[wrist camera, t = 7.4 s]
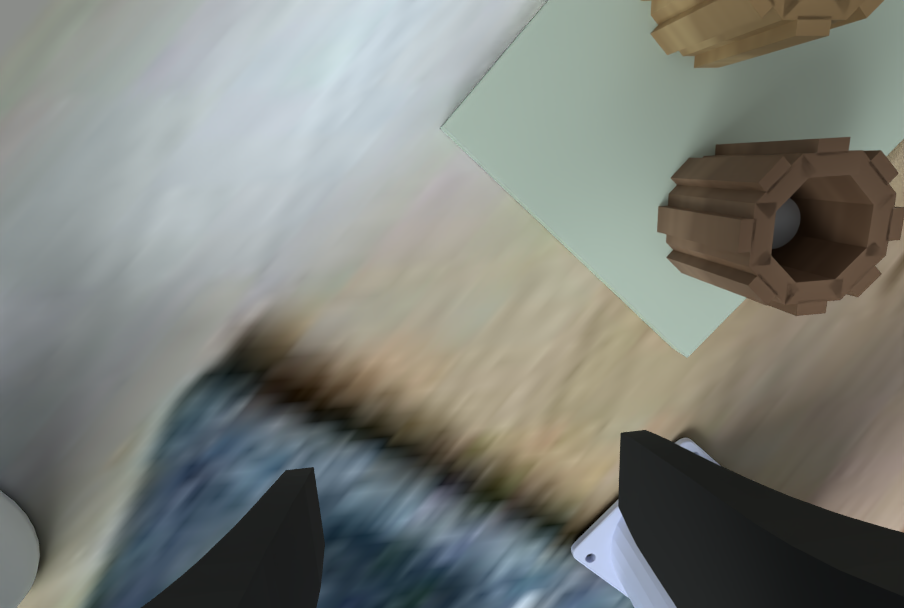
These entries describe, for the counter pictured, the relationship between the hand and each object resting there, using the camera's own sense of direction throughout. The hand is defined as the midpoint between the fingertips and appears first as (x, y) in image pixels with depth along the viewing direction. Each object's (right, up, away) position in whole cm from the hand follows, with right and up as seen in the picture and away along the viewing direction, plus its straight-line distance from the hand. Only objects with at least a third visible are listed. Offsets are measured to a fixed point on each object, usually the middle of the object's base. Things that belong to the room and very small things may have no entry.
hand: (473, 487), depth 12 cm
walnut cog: (+10, +8, +9) cm, 16 cm away
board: (+9, +12, +9) cm, 18 cm away
